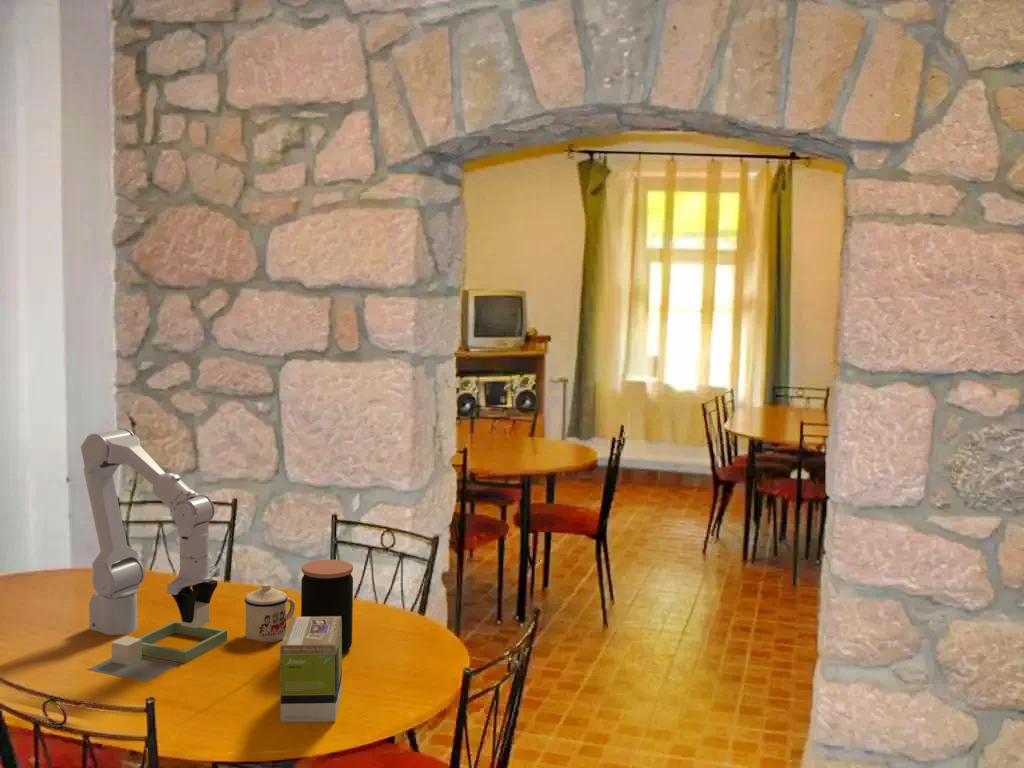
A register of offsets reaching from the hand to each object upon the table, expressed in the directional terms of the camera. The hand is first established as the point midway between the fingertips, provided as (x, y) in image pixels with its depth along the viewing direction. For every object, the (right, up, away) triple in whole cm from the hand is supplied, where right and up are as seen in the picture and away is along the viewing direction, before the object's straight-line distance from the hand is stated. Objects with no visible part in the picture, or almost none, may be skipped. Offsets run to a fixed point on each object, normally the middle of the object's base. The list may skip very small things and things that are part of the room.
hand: (194, 618), depth 214 cm
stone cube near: (-11, -7, -8) cm, 15 cm away
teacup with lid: (+14, -6, +11) cm, 18 cm away
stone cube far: (0, -1, 0) cm, 1 cm away
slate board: (-8, -8, -11) cm, 16 cm away
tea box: (+29, -11, -24) cm, 39 cm away
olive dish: (-3, -7, 0) cm, 7 cm away
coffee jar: (+27, -8, +3) cm, 28 cm away
